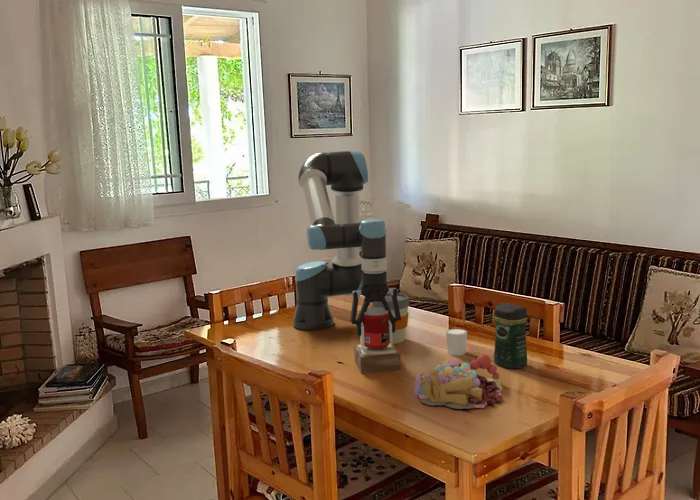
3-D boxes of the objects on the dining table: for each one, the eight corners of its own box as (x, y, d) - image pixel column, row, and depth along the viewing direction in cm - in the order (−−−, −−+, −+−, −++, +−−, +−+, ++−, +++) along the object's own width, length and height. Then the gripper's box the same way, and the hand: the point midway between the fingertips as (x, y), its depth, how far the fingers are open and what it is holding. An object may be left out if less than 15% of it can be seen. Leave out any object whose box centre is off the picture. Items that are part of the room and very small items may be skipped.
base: (354, 360, 215) (353, 344, 214) (391, 357, 217) (391, 341, 216) (361, 373, 203) (360, 356, 202) (400, 369, 205) (400, 352, 204)
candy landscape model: (505, 413, 172) (506, 378, 170) (411, 411, 175) (411, 376, 174) (500, 378, 196) (500, 347, 194) (417, 376, 200) (417, 346, 198)
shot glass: (469, 350, 221) (469, 329, 220) (464, 357, 215) (464, 335, 213) (449, 348, 224) (449, 327, 222) (443, 354, 217) (442, 333, 216)
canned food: (387, 349, 205) (386, 313, 203) (361, 348, 206) (360, 313, 204) (391, 341, 212) (390, 307, 210) (365, 340, 214) (364, 306, 212)
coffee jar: (531, 365, 205) (532, 305, 201) (513, 371, 200) (513, 309, 197) (507, 357, 212) (507, 299, 209) (489, 363, 208) (489, 303, 205)
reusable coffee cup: (391, 347, 226) (390, 303, 224) (365, 340, 236) (364, 297, 233) (417, 339, 234) (416, 296, 232) (391, 332, 244) (390, 291, 241)
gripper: (341, 276, 200) (344, 350, 204) (410, 271, 203) (412, 345, 207) (338, 271, 207) (341, 343, 211) (404, 266, 210) (406, 337, 214)
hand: (376, 344), depth 209 cm, fingers closed on canned food, 8 cm apart
